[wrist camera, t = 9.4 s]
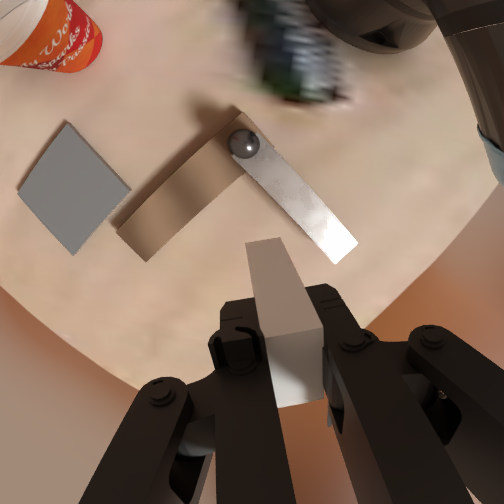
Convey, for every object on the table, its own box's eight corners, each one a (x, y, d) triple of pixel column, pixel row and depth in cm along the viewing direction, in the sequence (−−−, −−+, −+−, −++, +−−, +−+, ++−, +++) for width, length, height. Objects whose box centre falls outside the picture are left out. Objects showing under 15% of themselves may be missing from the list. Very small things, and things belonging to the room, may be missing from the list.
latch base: (242, 112, 28) (243, 111, 27) (272, 146, 29) (274, 147, 28) (119, 228, 31) (115, 232, 30) (148, 257, 32) (146, 262, 31)
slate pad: (70, 123, 26) (67, 123, 26) (131, 189, 30) (129, 191, 29) (20, 192, 28) (17, 193, 27) (76, 253, 31) (73, 256, 31)
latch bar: (221, 145, 28) (221, 147, 25) (245, 122, 27) (248, 121, 24) (327, 254, 32) (337, 266, 30) (348, 234, 32) (360, 245, 29)
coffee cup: (68, 99, 25) (-27, 90, 11) (33, 53, 22) (-57, 30, 9) (129, 42, 24) (63, -14, 10) (90, -2, 21) (21, -60, 7)
